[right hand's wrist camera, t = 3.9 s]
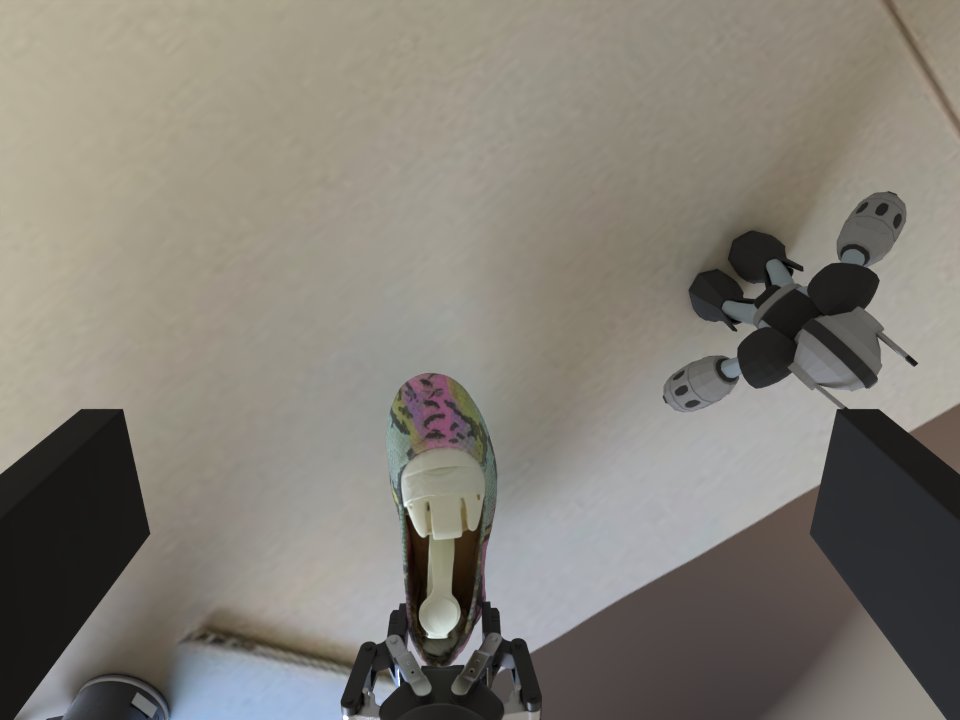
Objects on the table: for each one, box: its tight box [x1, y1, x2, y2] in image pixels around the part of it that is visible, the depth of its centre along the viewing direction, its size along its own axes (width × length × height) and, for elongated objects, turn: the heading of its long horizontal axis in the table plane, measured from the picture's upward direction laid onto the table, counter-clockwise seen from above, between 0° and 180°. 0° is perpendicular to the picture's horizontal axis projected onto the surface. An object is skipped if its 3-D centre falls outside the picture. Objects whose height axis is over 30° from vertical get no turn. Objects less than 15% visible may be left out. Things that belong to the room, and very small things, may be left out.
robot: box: [663, 191, 918, 412], centre depth 44 cm, size 20×5×20 cm, turn 138°
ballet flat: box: [386, 373, 497, 668], centre depth 52 cm, size 8×24×9 cm, turn 0°
